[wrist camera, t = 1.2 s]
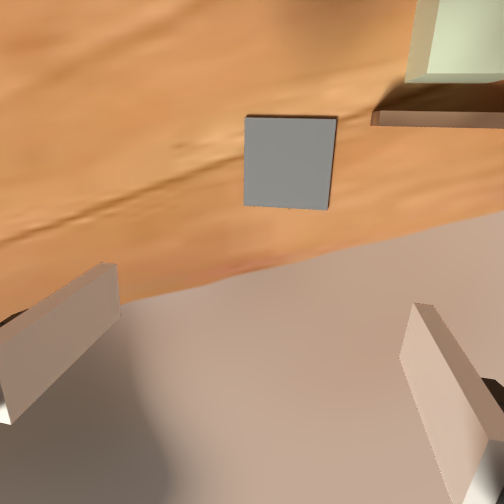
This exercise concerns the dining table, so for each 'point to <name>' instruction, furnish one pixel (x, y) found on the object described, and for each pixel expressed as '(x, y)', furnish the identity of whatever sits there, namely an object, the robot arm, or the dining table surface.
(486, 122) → the walnut cubby
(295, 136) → the slate mat
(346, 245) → the dining table surface
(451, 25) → the sage block
